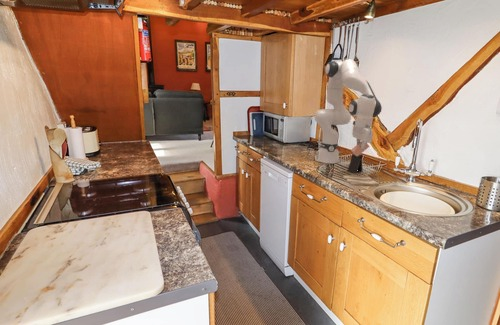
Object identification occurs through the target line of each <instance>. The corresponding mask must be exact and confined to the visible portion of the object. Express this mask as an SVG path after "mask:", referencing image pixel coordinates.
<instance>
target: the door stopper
mask: <svg viewBox="0 0 500 325" xmlns="http://www.w3.org/2000/svg"><path fill="white" fill-rule="evenodd" d="M357 170H358V171H357ZM347 172H350V173H353V174H358V173H361V172H363V154H360V155H359V156H355V155H354V154H353V153H352V154H351V159H350V162H349V165H348V167H347Z"/></svg>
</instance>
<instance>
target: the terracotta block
mask: <svg viewBox="0 0 500 325" xmlns="http://www.w3.org/2000/svg"><path fill="white" fill-rule="evenodd" d="M361 144H362V141H360V143H359V144H358V145H357V144H356V145H355V146H354V147H353V148H351V149H350V152H351V153H352V154H354V155H355V156H359V155H362V153H364V152H365V151H366V150H367V149H368V148H370V145H369V143H366V144H365V146H364V149H361V148H360V145H361Z"/></svg>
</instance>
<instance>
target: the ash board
mask: <svg viewBox="0 0 500 325" xmlns="http://www.w3.org/2000/svg"><path fill="white" fill-rule="evenodd" d="M342 179H344V180H345V182H347V183H348V184H349V185H350V186H363V187H364V186H365V187H367V186H368V187H379V183H378V182H377V181H375V180H374V179H372V178H371V177H370V176H368V175H348V174H342Z"/></svg>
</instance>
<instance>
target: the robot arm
mask: <svg viewBox="0 0 500 325" xmlns="http://www.w3.org/2000/svg"><path fill="white" fill-rule="evenodd" d="M324 69H325V71H324V72H325V75H326V77H328V82H327V88H326V98H325V99H326V101H327V103H328V104H330V105H331V106H332V107H333V108H321V109H317V110H316V112H315V114H314V120H315V122H316V123H317V124H318V125H319V127H320V128H321V131H322V141H321V143H320V148H319V149H318V150H316V151H315V154H316V155H314V161H315V162H318V163H319V162H320V163H323V164H332V165H333V164H337V163H340V162H341V160H340V159H339V155H340V152H339V150H338V146H339V143H338V141H339V132H338V131H337V130H336V129H334V128H332V125H336V126H338V125H339V126H342V125H348V124H349V123H350V122H351V120H352V117H356V118H355V120H353V121H352V125H353V126H352V134H351V135H352V137H353V138H355V139H356V145H358V144H359V143H360V142H361V141H362V144H361V145H360V148H361V149H364V146H365V144H366V143H367V144H370V143H372V141H373V134H374V133H373V129H372V127H373V121H374V120H373V119H374V118H376V117H378V116H379V115H380V114H381V113H382V108H383V107H382V104H381V102H380V101H379V100H378V98H377V97H376V95H375V92H374V90H373V89H372V87H371V84H370V83H369V82H368V81H367V79H365V78H364V77H363V76H362V74H361V72H360V69H359V64H358V63H356V61H355V60H354V59H352V58H349V59H346V60H343V61H341V60H339V61H337V60H336V61H334V60H331V61H328V62H327V64H326V66H325V68H324ZM344 87H345V88H347V89H350V90H352V91H353V90H354V91H357V92H359V93H361V95H360V96H359V98H357V99H353V100H352V101H351V102H349V105H348V109H347V108H346V106H345V105H344V100H343V98H344V97H343V96H344Z"/></svg>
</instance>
